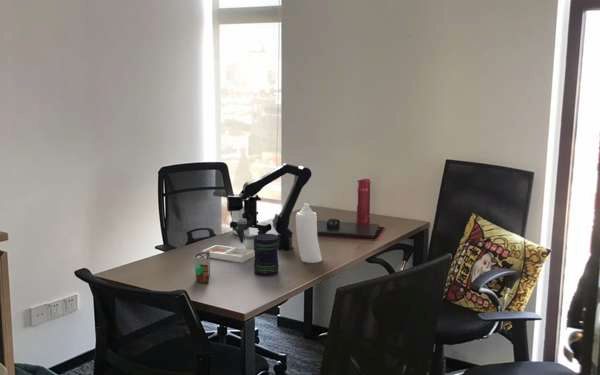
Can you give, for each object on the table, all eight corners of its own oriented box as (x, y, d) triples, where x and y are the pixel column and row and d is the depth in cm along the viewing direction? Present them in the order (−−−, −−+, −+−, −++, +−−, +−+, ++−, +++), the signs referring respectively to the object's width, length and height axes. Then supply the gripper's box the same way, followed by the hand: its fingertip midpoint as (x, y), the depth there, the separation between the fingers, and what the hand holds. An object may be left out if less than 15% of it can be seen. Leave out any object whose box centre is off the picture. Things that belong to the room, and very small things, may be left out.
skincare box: (249, 234, 305) (249, 205, 303) (239, 236, 302) (238, 206, 300) (241, 231, 312) (241, 202, 310) (231, 232, 309) (230, 203, 306)
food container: (194, 275, 243) (193, 250, 241) (210, 274, 243) (209, 250, 241) (191, 285, 230) (191, 259, 229) (208, 285, 231) (207, 259, 229)
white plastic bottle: (317, 265, 256) (317, 206, 251) (292, 263, 259) (293, 205, 254) (324, 257, 267) (325, 201, 262) (300, 255, 270) (301, 199, 265)
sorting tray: (255, 255, 269) (255, 250, 268) (242, 262, 259) (242, 256, 259) (216, 250, 278) (216, 244, 277) (202, 256, 268) (201, 250, 268)
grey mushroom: (258, 249, 279) (258, 234, 277) (252, 252, 274) (252, 237, 273) (248, 248, 281) (248, 233, 279) (243, 251, 276) (242, 236, 275)
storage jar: (262, 267, 252) (262, 232, 250) (283, 271, 248) (283, 235, 245) (248, 274, 244) (248, 237, 241) (269, 278, 239) (269, 241, 236)
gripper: (222, 211, 271) (223, 246, 274) (259, 215, 263) (259, 251, 266) (236, 207, 281) (236, 240, 284) (272, 210, 273) (272, 245, 276)
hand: (250, 244), depth 277 cm, fingers open, 9 cm apart
